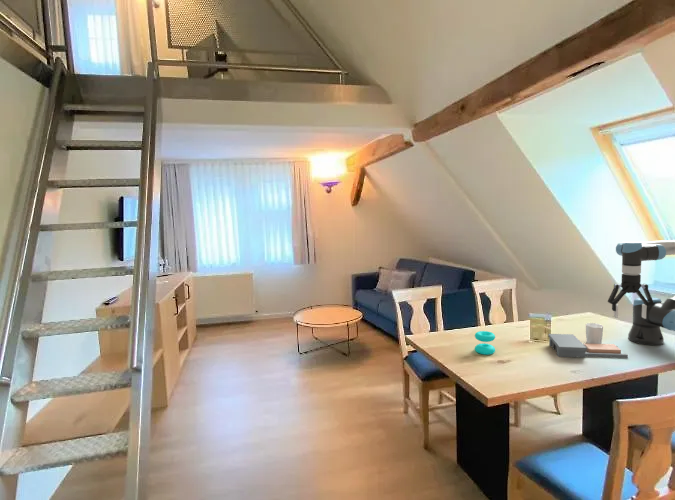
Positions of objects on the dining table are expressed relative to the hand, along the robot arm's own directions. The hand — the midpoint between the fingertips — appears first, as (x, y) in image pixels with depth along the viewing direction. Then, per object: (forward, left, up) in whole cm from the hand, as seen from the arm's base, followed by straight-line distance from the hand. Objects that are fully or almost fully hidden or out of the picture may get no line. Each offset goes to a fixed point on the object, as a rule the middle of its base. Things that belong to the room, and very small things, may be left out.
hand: (629, 317), depth 201 cm
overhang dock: (+18, 0, -18) cm, 26 cm away
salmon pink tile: (+12, 0, -18) cm, 22 cm away
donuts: (+68, +5, -18) cm, 71 cm away
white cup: (+11, -13, -18) cm, 25 cm away
